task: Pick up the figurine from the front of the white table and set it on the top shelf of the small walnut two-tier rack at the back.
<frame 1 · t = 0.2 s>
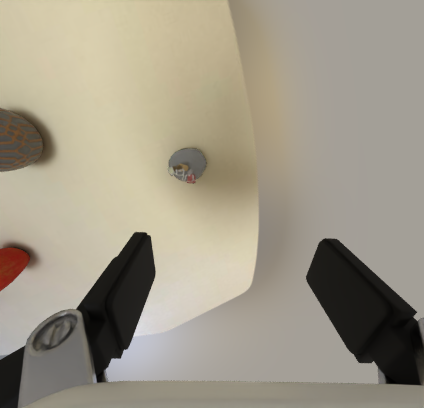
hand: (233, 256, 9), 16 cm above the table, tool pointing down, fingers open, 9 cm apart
vase: (27, 137, 22), on the table
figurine: (188, 163, 24), on the table
apple: (21, 252, 30), on the table
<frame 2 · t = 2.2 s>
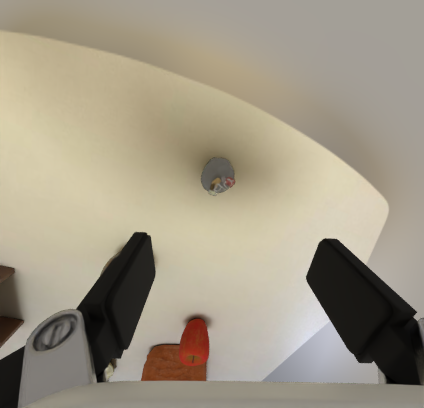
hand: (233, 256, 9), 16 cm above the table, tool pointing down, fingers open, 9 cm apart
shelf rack: (0, 294, 34), on the table
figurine: (217, 174, 24), on the table
apple: (196, 320, 39), on the table
bread: (179, 367, 49), on the table
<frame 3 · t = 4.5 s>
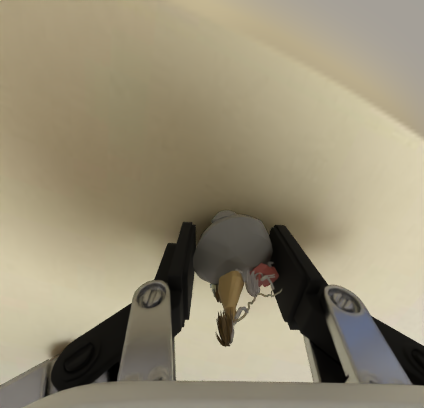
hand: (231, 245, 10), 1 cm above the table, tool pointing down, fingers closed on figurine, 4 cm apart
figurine: (229, 235, 11), on the table, touching gripper
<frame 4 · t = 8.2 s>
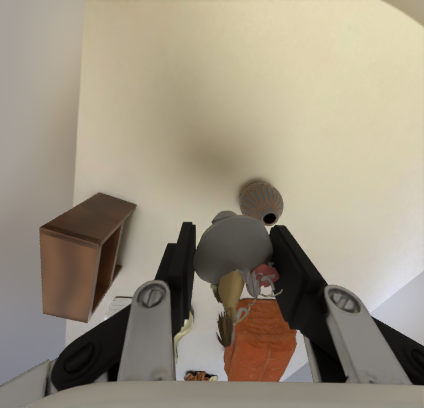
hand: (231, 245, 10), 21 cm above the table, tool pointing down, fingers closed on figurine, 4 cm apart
pastry: (201, 374, 62), on the table
spoon: (174, 333, 51), on the table
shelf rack: (111, 235, 35), on the table
vase: (255, 195, 32), on the table
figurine: (230, 236, 11), point 20 cm above the table, touching gripper
container set: (130, 319, 48), on the table
bread: (252, 328, 50), on the table
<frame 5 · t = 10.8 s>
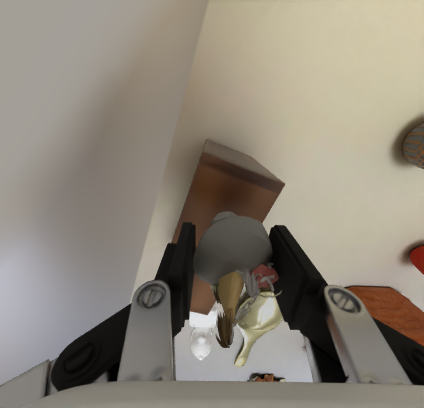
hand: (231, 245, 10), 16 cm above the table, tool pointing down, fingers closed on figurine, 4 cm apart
pastry: (266, 377, 54), on the table
spoon: (250, 330, 43), on the table
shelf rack: (208, 202, 27), on the table
vase: (416, 140, 23), on the table
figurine: (229, 236, 11), point 16 cm above the table, touching gripper
container set: (202, 314, 40), on the table
apple: (417, 249, 32), on the table
bread: (345, 322, 41), on the table
when the fingers open (13 cm above the table, at t = 12.2 s): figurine stays where it is, resting on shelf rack.
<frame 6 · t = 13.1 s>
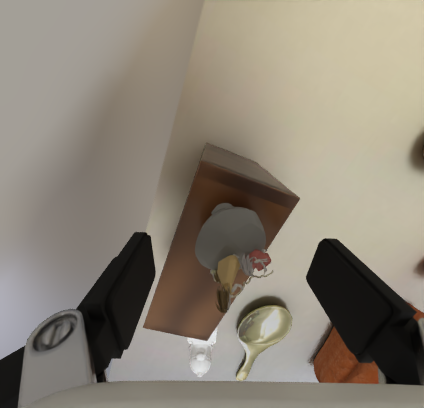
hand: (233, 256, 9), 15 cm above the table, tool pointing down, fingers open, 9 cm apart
spoon: (252, 343, 40), on the table
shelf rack: (207, 211, 25), on the table
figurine: (228, 227, 12), point 12 cm above the table, touching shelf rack
container set: (202, 327, 37), on the table
bread: (354, 335, 39), on the table
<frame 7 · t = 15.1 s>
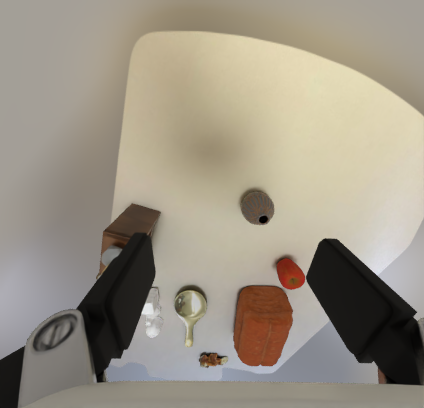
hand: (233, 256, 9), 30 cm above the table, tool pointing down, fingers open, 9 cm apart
pastry: (213, 356, 71), on the table
spoon: (190, 318, 60), on the table
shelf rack: (140, 236, 45), on the table
vase: (253, 200, 41), on the table
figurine: (121, 252, 32), point 12 cm above the table, touching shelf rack
container set: (153, 306, 57), on the table
apple: (283, 261, 49), on the table
bread: (256, 311, 58), on the table
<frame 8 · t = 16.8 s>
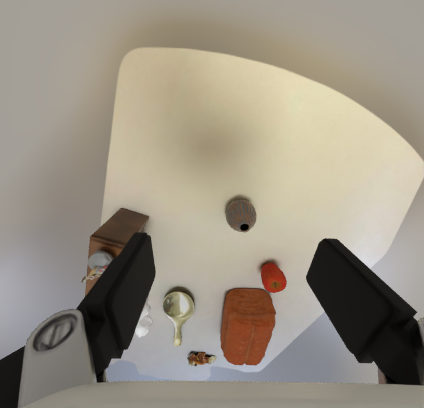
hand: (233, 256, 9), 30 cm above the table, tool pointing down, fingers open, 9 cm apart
pastry: (202, 355, 73), on the table
spoon: (178, 318, 62), on the table
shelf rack: (129, 239, 46), on the table
vase: (238, 207, 42), on the table
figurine: (107, 256, 33), point 12 cm above the table, touching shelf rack
container set: (143, 306, 59), on the table
apple: (267, 265, 51), on the table
bread: (243, 312, 60), on the table
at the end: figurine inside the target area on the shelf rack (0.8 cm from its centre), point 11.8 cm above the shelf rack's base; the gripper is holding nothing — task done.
